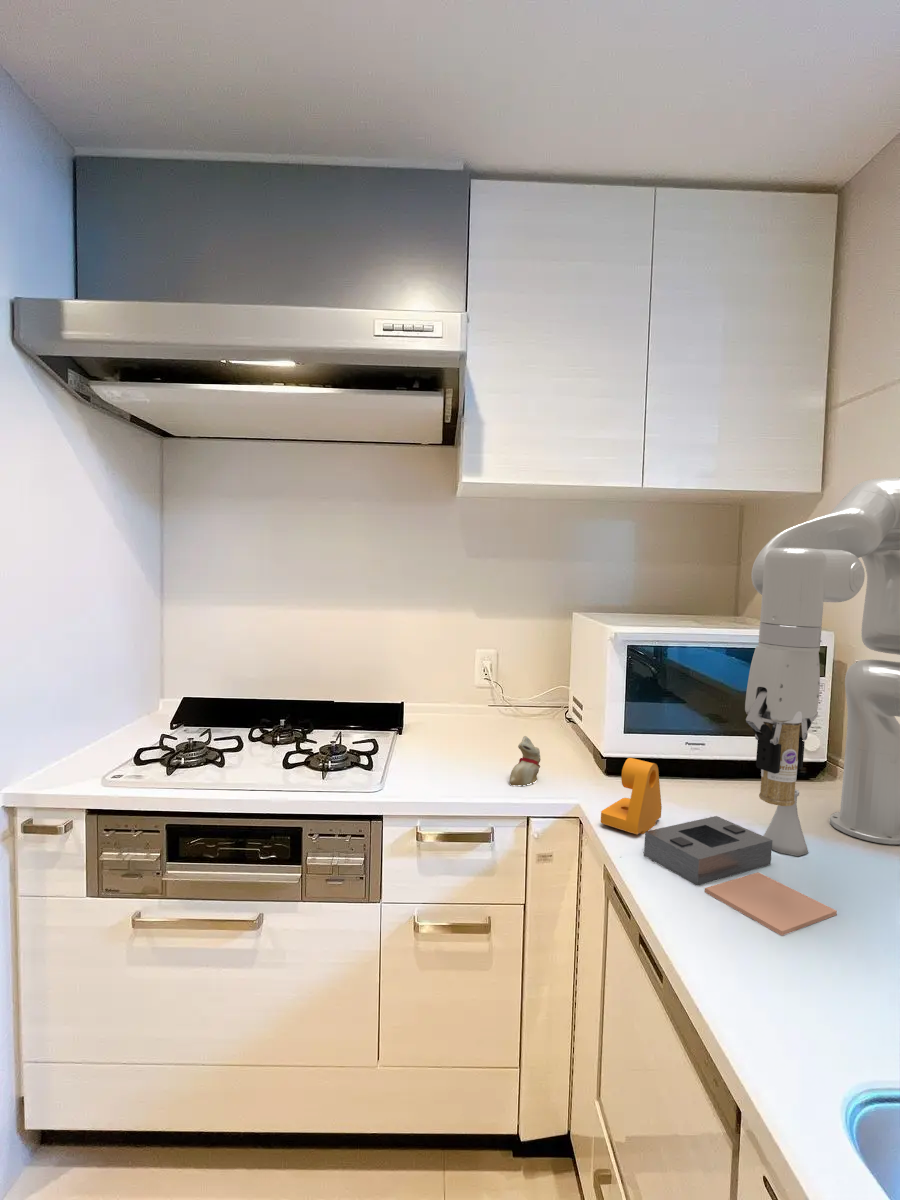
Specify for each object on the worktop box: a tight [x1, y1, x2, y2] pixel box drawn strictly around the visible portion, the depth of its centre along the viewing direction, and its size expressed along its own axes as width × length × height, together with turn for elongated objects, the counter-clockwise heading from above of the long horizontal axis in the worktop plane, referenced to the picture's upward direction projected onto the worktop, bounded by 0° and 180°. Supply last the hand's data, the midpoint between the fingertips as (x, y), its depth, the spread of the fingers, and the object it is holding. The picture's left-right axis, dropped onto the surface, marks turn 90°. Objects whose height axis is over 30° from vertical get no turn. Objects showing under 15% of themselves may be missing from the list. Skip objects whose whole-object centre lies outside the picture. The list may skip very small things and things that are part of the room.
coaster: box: [704, 871, 838, 937], centre depth 91 cm, size 12×12×1 cm
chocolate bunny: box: [509, 735, 541, 786], centre depth 137 cm, size 6×8×10 cm
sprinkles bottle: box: [758, 712, 802, 806], centre depth 90 cm, size 5×5×13 cm
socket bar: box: [643, 815, 772, 886], centre depth 103 cm, size 17×11×4 cm, turn 119°
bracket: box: [600, 757, 663, 836], centre depth 117 cm, size 11×7×12 cm, turn 141°
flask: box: [763, 788, 809, 857], centre depth 110 cm, size 7×7×10 cm
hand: (779, 767), depth 90 cm, fingers closed on sprinkles bottle, 4 cm apart
